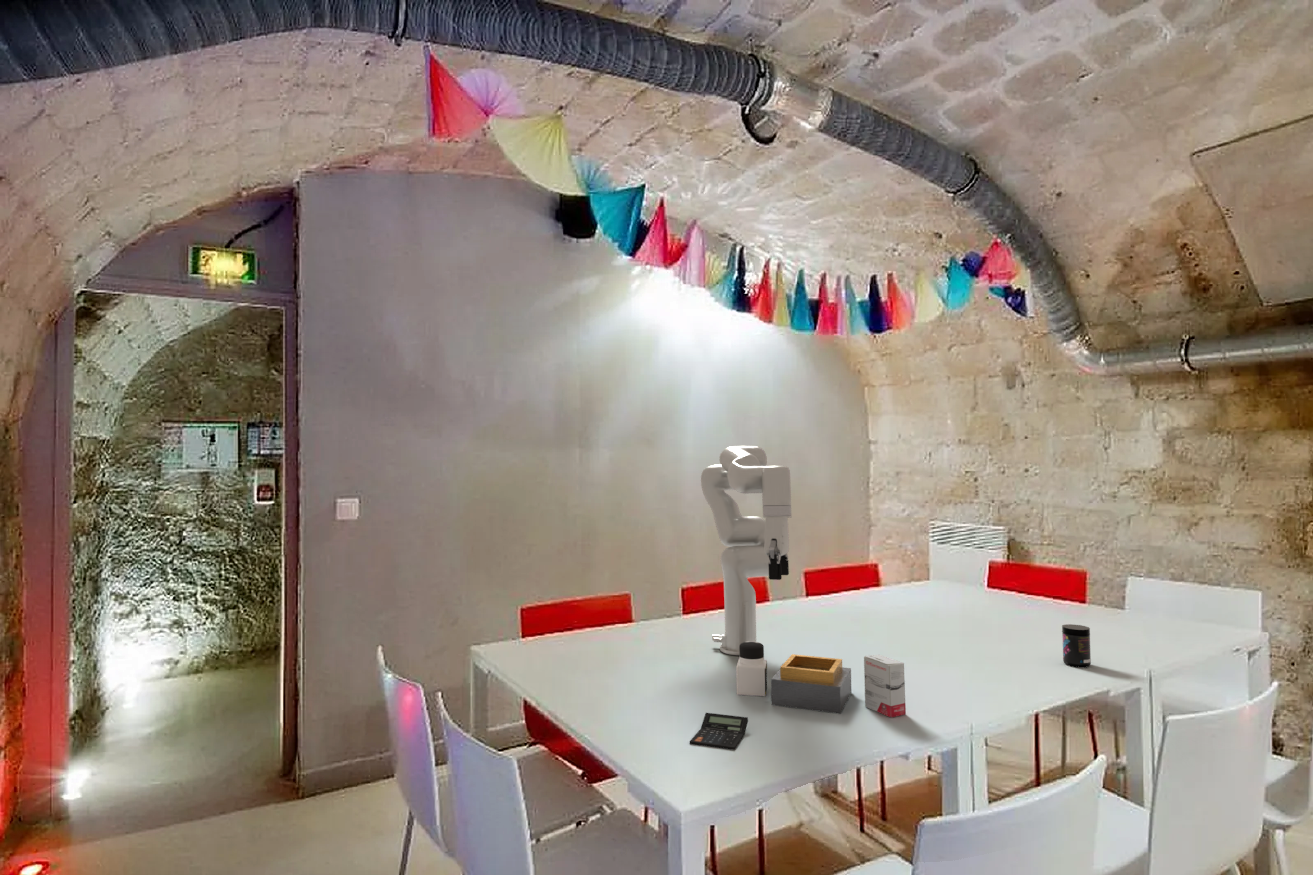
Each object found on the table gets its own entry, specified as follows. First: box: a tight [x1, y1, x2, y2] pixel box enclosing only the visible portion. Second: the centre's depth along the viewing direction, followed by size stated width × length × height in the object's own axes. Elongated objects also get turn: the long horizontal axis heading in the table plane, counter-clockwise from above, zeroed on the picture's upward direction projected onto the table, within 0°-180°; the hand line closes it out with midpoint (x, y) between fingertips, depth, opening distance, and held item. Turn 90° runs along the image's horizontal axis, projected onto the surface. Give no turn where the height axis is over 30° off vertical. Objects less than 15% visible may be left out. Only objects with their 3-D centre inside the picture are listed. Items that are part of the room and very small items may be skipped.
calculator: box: [689, 712, 749, 751], centre depth 149 cm, size 9×12×3 cm
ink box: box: [863, 654, 907, 718], centre depth 164 cm, size 9×5×12 cm, turn 25°
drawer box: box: [770, 653, 852, 715], centre depth 174 cm, size 16×18×8 cm
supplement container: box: [1061, 623, 1092, 668], centre depth 199 cm, size 7×7×10 cm
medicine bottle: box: [735, 641, 768, 697], centre depth 179 cm, size 7×7×12 cm
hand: (779, 577), depth 189 cm, fingers open, 9 cm apart
